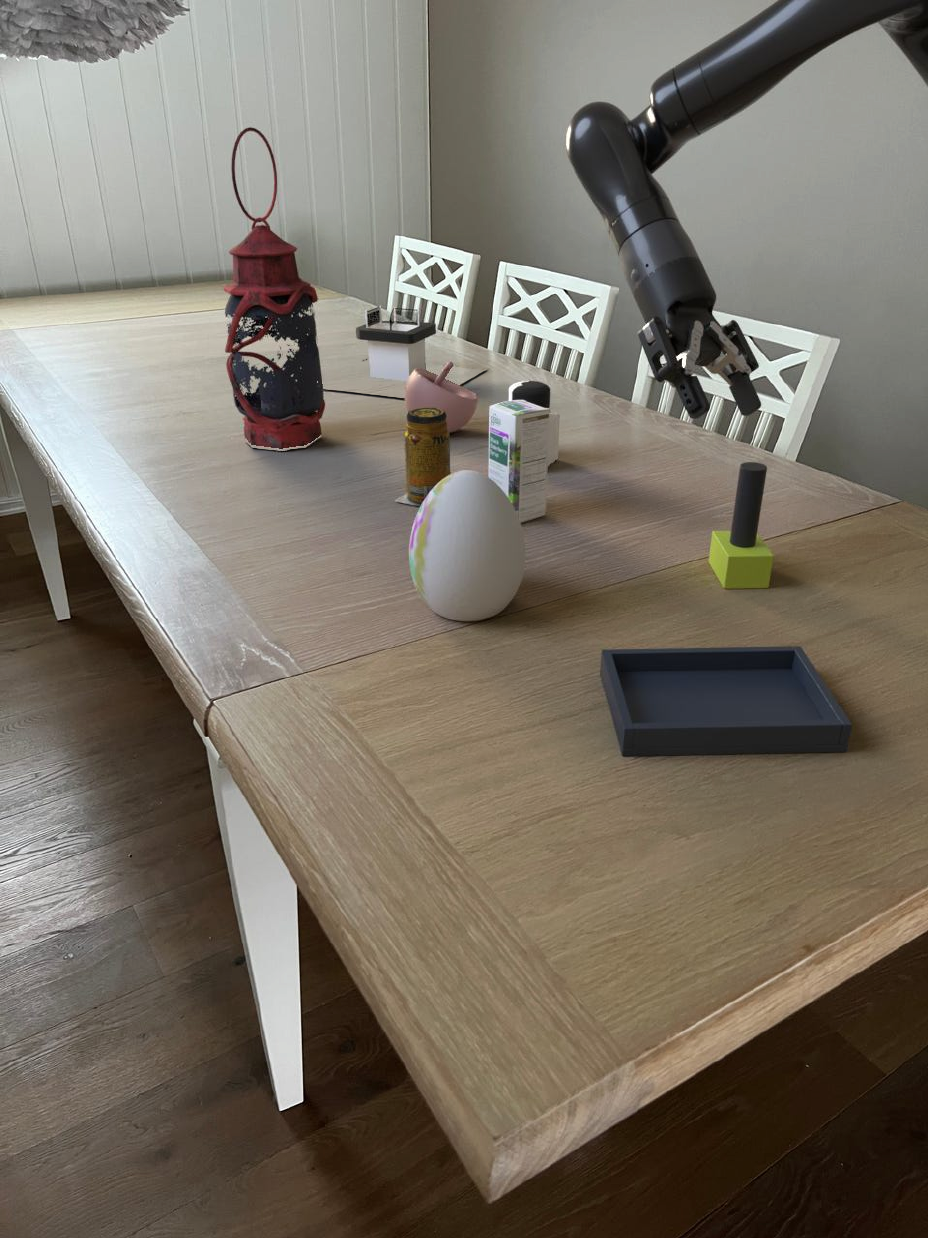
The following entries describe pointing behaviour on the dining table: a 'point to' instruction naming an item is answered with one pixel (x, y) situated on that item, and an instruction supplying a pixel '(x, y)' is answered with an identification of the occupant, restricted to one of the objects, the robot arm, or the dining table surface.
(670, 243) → the robot arm
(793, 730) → the tray
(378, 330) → the black-topped pedestal
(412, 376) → the mortar and pestle
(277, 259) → the lantern
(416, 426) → the condiment
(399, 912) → the dining table surface
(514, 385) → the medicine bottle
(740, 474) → the sponge wand
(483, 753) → the dining table surface
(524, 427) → the syrup box
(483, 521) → the decorative egg
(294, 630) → the dining table surface
